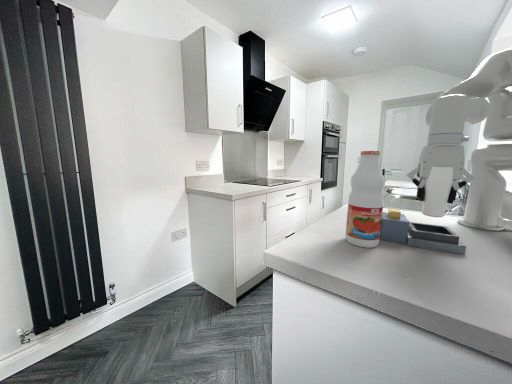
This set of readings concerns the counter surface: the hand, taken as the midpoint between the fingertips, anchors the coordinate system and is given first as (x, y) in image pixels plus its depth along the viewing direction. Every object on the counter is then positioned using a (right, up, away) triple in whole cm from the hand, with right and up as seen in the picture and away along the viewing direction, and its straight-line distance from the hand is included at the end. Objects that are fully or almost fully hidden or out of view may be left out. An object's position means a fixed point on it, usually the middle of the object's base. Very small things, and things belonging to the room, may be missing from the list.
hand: (434, 201), depth 65 cm
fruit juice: (-22, -13, +2) cm, 25 cm away
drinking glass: (0, -5, +1) cm, 5 cm away
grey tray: (-4, -13, +4) cm, 14 cm away
